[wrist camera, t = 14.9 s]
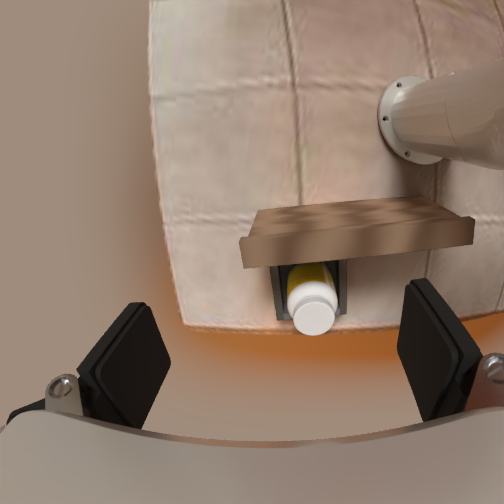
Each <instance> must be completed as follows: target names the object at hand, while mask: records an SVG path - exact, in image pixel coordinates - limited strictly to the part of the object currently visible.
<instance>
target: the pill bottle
mask: <svg viewBox="0 0 504 504" xmlns="http://www.w3.org/2000/svg"><path fill="white" fill-rule="evenodd" d="M287 280H288V285H287V308H288V312H289V314H290V316H291V317H292V318H293V321H294V325H295V327H296V328H297V330H299V331H300V332H301V333H303V334H306V335H311V336H315V335H320V334H323V333H325V332H326V331H328V330H329V329H330V328H331V327H332V325H333V323H334V320H335V312H336V310H337V305H338V300H337V294H336V291H335V287H334V283H333V279H332V276H331V272H330V270H329V267H328V266H327V264H326V263H325V262H324V261H320V262H310V263H300V264H292V266H291V267H290V269H289V272H288V278H287Z"/></svg>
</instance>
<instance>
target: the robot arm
mask: <svg viewBox="0 0 504 504" xmlns="http://www.w3.org/2000/svg"><path fill="white" fill-rule="evenodd" d="M396 84H397V85H398V87H397V86H396ZM383 117H384V118H385V121H383ZM378 122H379V126H380V129H381V132H382V134H383V137H384V139H385V140H386V142H387V143H388V145H389V146H390V147H391V149H392V150H393V151H394V152H395V153H396V154H398V155H399V156H400V157H401V158H403V159H405V160H407V161H409V162H412V163H416V164H421V165H427V164H432V163H436V162H438V161H440V160H442V159H443V158H447V159H452V160H456V161H460V162H465V163H469V164H473V165H477V166H481V167H485V168H489V169H495V170H503V169H504V56H503V57H501V58H498V59H496V60H493V61H490V62H487V63H484V64H481V65H478V66H474V67H471V68H467V69H464V70H461V71H457V72H453V73H450V74H447V75H444V76H441V77H437V78H434V79H431V80H427V79H424V78H422V77H417V76H406V77H402V78H399V79H397V80H395V81H393V82H392V83H390V84H389V85H388V86H387V87H386V89H385V90H384V91H383V93H382V95H381V97H380V101H379V104H378ZM405 152H406V155H405ZM397 351H398V355H399V357H400V360H401V362H402V365H403V367H404V370H405V373H406V375H407V378H408V381H409V383H410V386H411V389H412V391H413V394H414V397H415V400H416V402H417V406H418V408H419V411H420V414H421V418H422V420H423V422H422V423H418V424H414V425H410V426H405V427H400V428H396V429H390V430H385V431H379V432H373V433H367V434H361V435H354V436H346V437H338V438H330V439H329V438H328V439H317V440H301V441H274V442H273V441H272V442H271V441H270V442H269V441H267V442H266V441H265V442H264V441H263V442H262V441H261V442H260V441H258V442H257V441H230V440H215V439H203V438H194V437H185V436H177V435H170V434H163V433H157V432H151V431H146V430H141V428H142V426H143V424H144V422H145V420H146V418H147V415H148V413H149V411H150V409H151V407H152V405H153V402H154V400H155V398H156V396H157V394H158V392H159V390H160V387H161V385H162V383H163V381H164V379H165V377H166V375H167V372H168V370H169V368H170V365H171V360H170V357H169V354H168V352H167V349H166V347H165V344H164V342H163V340H162V337H161V334H160V332H159V329H158V327H157V324H156V321H155V319H154V316H153V313H152V311H151V308H150V307H149V306H147V305H146V304H145V303H144V302H136V303H135V302H134V303H130V304H128V306H127V307H126V308H125V309H124V310H123V312H122V313H121V314H120V315H119V316H118V317H117V319H116V320H115V321H114V322H113V324H112V325H111V326H110V327H109V329H108V330H107V331H106V332H105V333H104V335H103V336H102V337H101V338H100V340H99V341H98V342H97V343H96V345H95V346H94V347H93V348H92V350H91V351H90V352H89V354H88V355H87V356H86V358H85V359H84V360H83V361H82V363H81V364H80V365H79V367H78V368H77V372H78V373H79V375H80V377H79V378H78V379H77V377H76V376H75V375H72V374H63V375H60V376H58V377H56V378H54V379H53V380H52V381H51V382H50V383H49V384H48V386H47V388H46V392H45V398H44V399H42V400H40V401H37V402H34V403H32V404H29V405H27V406H24V407H22V408H19V409H17V410H15V411H13V412H12V413H11V414H10V415H9V418H8V420H7V425H6V427H5V425H4V426H2V427H1V428H0V504H504V354H501V353H490V354H488V355H485V356H483V355H482V353H481V352H480V349H479V347H478V346H477V344H476V343H475V341H474V340H473V338H472V337H471V336H470V334H469V333H468V331H467V330H466V328H465V327H464V326H463V324H462V323H461V322H460V320H459V319H458V318H457V316H456V315H455V313H454V312H453V311H452V310H451V308H450V307H449V306H448V304H447V303H446V302H445V300H444V299H443V298H442V297H441V295H440V294H439V293H438V292H437V290H436V289H435V288H434V287H433V285H432V284H431V283H430V282H429V281H428V279H426V278H422V279H415V280H411V281H410V284H409V285H406V287H405V295H404V303H403V310H402V317H401V324H400V330H399V336H398V342H397Z"/></svg>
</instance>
